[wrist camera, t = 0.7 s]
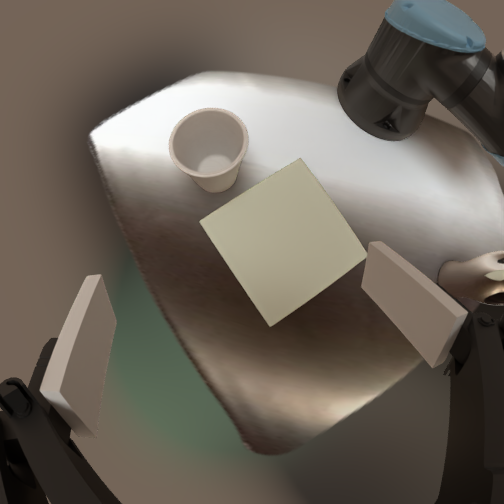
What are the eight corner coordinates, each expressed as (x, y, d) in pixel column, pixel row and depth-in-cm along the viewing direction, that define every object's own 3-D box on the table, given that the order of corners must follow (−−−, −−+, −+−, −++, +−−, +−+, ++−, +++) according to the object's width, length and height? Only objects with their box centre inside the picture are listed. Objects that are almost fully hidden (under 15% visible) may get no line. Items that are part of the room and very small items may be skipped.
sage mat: (299, 160, 38) (300, 157, 37) (366, 256, 37) (368, 255, 36) (200, 222, 37) (199, 221, 36) (269, 326, 36) (270, 327, 35)
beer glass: (428, 278, 37) (498, 275, 22) (451, 248, 38) (519, 236, 23) (448, 310, 37) (516, 318, 22) (470, 280, 37) (536, 278, 22)
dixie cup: (255, 191, 38) (259, 162, 28) (195, 211, 37) (178, 187, 27) (236, 138, 38) (234, 98, 28) (179, 156, 38) (161, 121, 28)
